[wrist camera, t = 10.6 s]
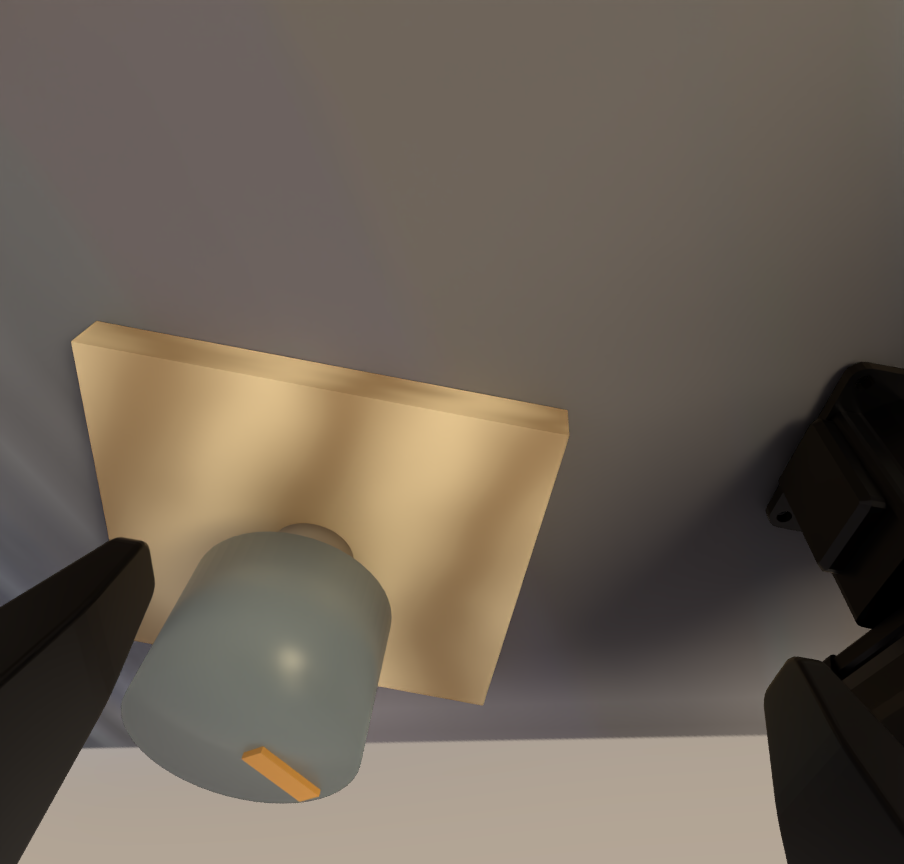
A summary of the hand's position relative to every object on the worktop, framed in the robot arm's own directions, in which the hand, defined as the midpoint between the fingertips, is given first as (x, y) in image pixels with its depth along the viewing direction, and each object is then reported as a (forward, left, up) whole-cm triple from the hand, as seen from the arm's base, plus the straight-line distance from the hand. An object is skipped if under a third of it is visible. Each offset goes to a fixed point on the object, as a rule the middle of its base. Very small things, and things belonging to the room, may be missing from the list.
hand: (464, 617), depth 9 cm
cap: (+5, +12, -9) cm, 16 cm away
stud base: (+5, +12, -13) cm, 18 cm away
